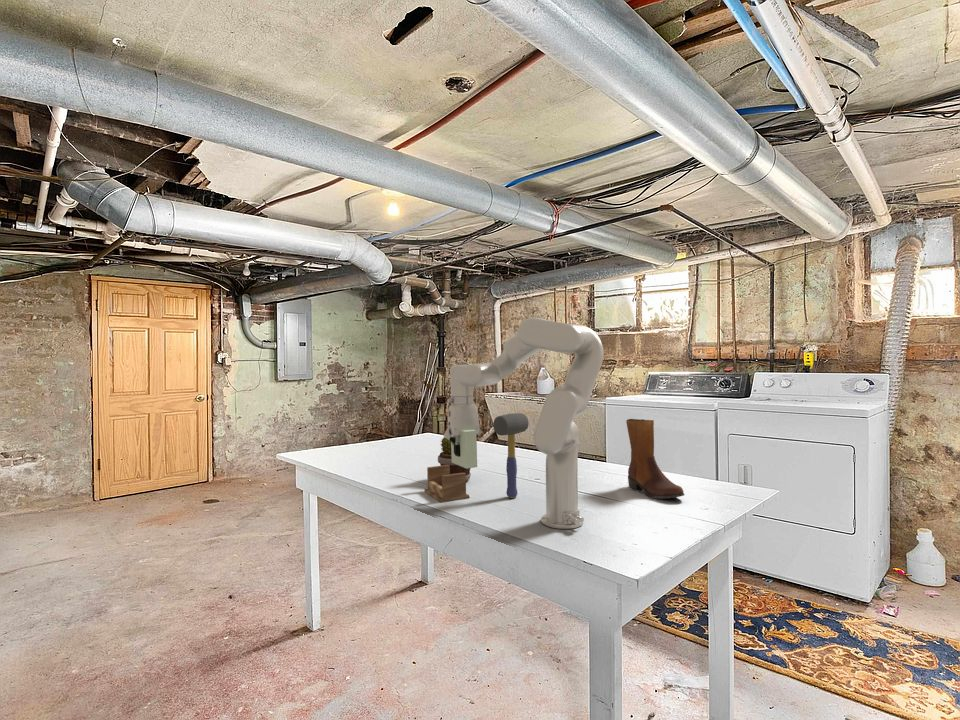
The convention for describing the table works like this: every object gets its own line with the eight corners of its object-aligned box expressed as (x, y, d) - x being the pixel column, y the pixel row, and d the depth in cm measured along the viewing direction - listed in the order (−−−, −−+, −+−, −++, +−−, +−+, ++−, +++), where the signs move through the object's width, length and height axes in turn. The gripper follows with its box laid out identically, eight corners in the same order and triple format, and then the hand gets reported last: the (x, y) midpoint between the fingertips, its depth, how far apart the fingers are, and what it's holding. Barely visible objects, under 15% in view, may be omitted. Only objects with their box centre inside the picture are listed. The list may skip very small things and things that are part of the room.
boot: (689, 502, 171) (688, 423, 171) (666, 505, 169) (665, 424, 168) (644, 484, 195) (643, 415, 195) (623, 486, 193) (623, 416, 192)
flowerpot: (475, 476, 211) (475, 429, 210) (472, 486, 195) (471, 435, 195) (441, 476, 212) (440, 429, 212) (434, 486, 197) (434, 435, 196)
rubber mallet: (508, 503, 172) (506, 416, 172) (492, 499, 178) (491, 414, 177) (531, 496, 181) (530, 412, 181) (515, 492, 187) (514, 411, 186)
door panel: (477, 467, 166) (476, 430, 166) (465, 468, 164) (463, 431, 164) (462, 460, 177) (461, 426, 177) (450, 462, 175) (449, 427, 175)
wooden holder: (469, 498, 180) (469, 472, 180) (440, 502, 175) (440, 476, 175) (451, 487, 194) (451, 464, 194) (424, 491, 189) (424, 467, 189)
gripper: (443, 403, 163) (445, 459, 163) (489, 400, 171) (490, 454, 171) (435, 402, 170) (436, 456, 170) (479, 398, 178) (481, 450, 178)
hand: (463, 454), depth 171 cm, fingers closed on door panel, 4 cm apart
